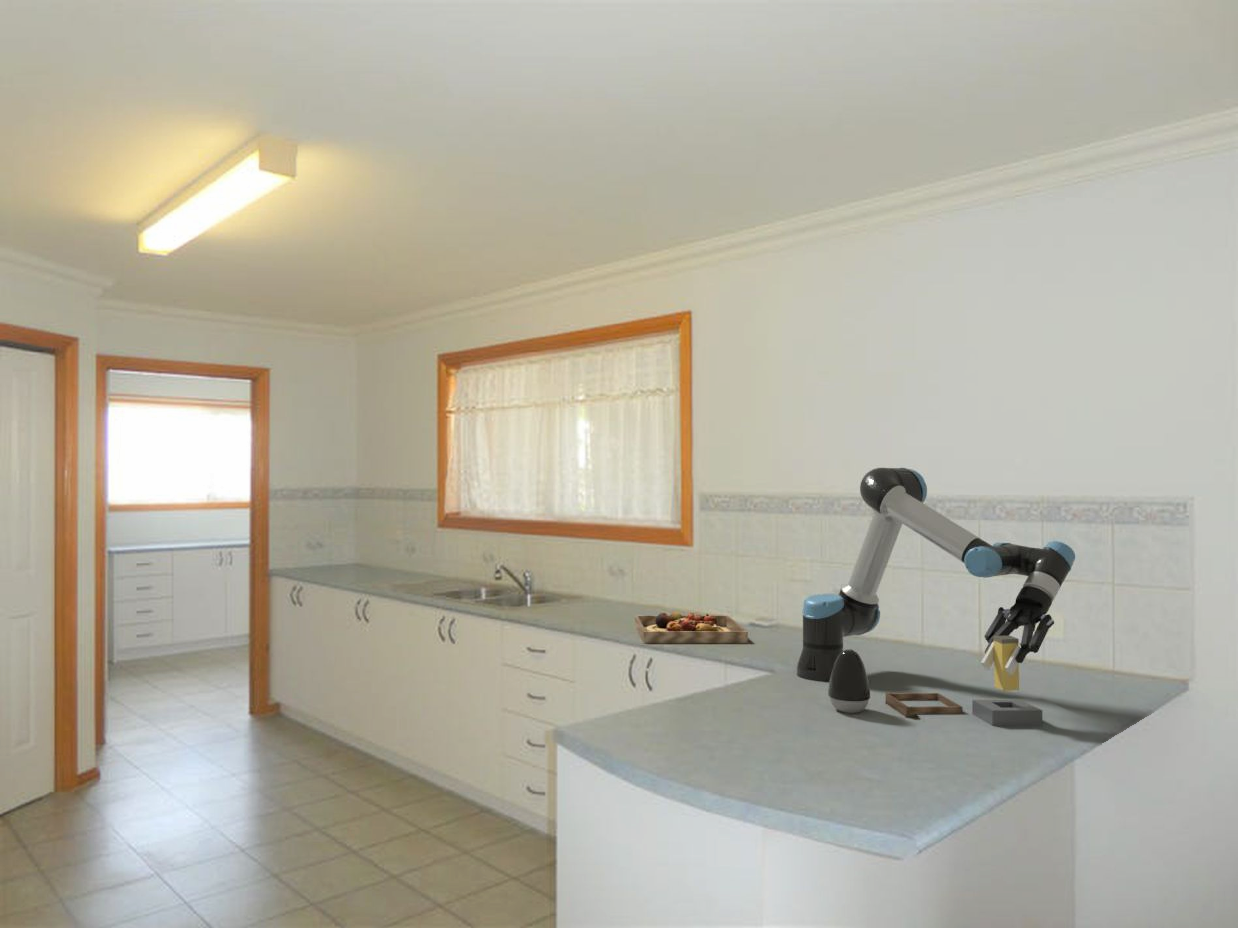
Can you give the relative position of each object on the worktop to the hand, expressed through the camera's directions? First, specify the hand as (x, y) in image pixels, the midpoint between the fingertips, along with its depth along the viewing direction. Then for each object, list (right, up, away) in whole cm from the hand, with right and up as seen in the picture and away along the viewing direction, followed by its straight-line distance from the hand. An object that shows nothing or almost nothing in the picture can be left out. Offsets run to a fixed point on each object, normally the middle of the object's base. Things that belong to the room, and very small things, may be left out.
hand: (996, 668), depth 207 cm
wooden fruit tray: (-63, -15, +120) cm, 137 cm away
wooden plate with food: (-63, -16, +120) cm, 137 cm away
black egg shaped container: (-31, -14, +13) cm, 37 cm away
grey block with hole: (+3, -14, +2) cm, 14 cm away
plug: (+3, -5, +2) cm, 6 cm away
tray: (-12, -14, +14) cm, 23 cm away
